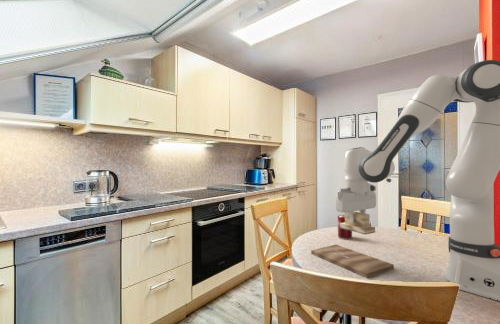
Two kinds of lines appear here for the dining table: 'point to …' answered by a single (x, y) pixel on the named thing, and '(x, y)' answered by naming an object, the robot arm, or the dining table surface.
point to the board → (353, 260)
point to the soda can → (343, 232)
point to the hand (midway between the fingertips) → (356, 221)
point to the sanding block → (358, 223)
